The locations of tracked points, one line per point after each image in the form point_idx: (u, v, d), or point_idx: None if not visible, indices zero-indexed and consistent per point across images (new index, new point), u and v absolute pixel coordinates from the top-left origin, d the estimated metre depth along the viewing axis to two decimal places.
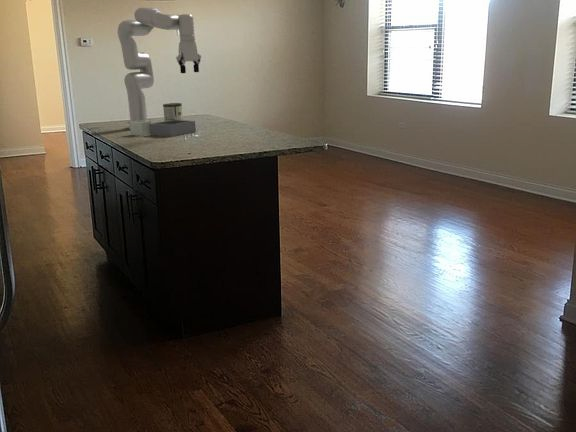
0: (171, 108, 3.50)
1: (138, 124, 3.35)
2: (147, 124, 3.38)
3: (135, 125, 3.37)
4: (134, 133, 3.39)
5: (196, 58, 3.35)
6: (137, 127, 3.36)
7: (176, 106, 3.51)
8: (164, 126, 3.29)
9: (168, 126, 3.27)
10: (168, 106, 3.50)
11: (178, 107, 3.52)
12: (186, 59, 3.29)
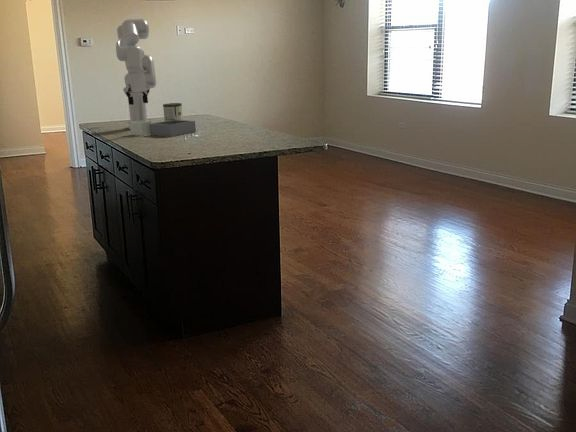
0: (171, 108, 3.50)
1: (138, 124, 3.35)
2: (147, 124, 3.38)
3: (135, 125, 3.37)
4: (134, 133, 3.39)
5: (144, 89, 3.36)
6: (137, 127, 3.36)
7: (176, 106, 3.51)
8: (164, 126, 3.29)
9: (168, 126, 3.27)
10: (168, 106, 3.50)
11: (178, 107, 3.52)
12: (134, 90, 3.30)
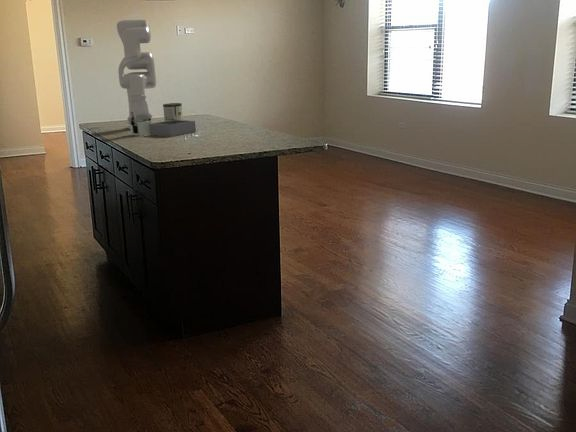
0: (171, 108, 3.50)
1: (138, 124, 3.35)
2: (147, 124, 3.38)
3: None
4: (134, 133, 3.39)
5: (147, 116, 3.40)
6: (137, 127, 3.36)
7: (176, 106, 3.51)
8: (164, 126, 3.29)
9: (168, 126, 3.27)
10: (168, 106, 3.50)
11: (178, 107, 3.52)
12: (136, 118, 3.35)
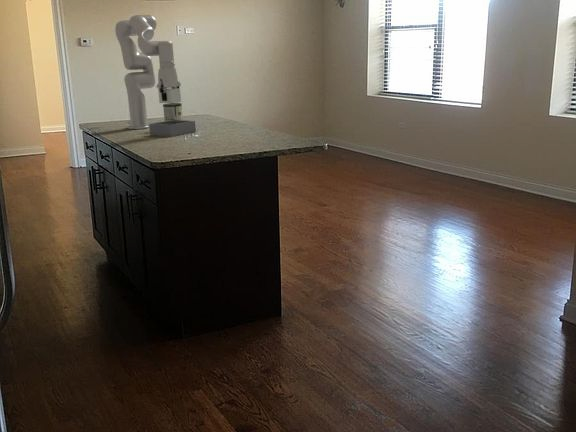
0: (171, 108, 3.50)
1: (167, 91, 3.29)
2: (176, 91, 3.31)
3: None
4: (163, 101, 3.33)
5: (176, 84, 3.34)
6: (166, 94, 3.30)
7: (176, 106, 3.51)
8: (164, 126, 3.29)
9: (168, 126, 3.27)
10: (168, 106, 3.50)
11: (178, 107, 3.52)
12: (166, 86, 3.28)
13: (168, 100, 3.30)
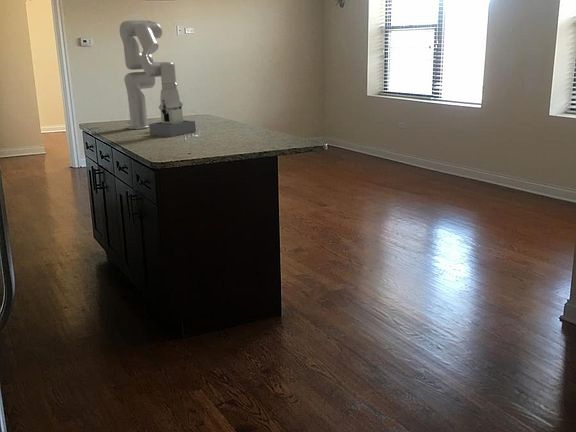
0: (171, 108, 3.50)
1: (169, 112, 3.32)
2: (178, 112, 3.34)
3: None
4: (165, 121, 3.35)
5: (178, 105, 3.36)
6: None
7: None
8: (164, 126, 3.29)
9: (168, 126, 3.27)
10: None
11: None
12: (168, 106, 3.31)
13: (170, 121, 3.33)
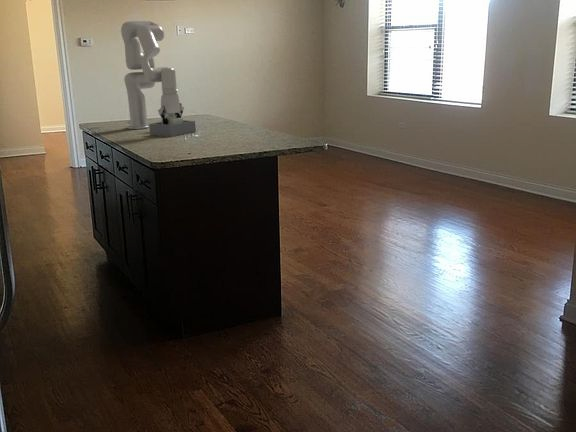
0: None
1: (170, 121, 3.33)
2: (179, 121, 3.35)
3: None
4: None
5: (178, 110, 3.37)
6: (169, 124, 3.34)
7: None
8: (164, 126, 3.29)
9: (168, 126, 3.27)
10: None
11: None
12: (168, 112, 3.32)
13: None
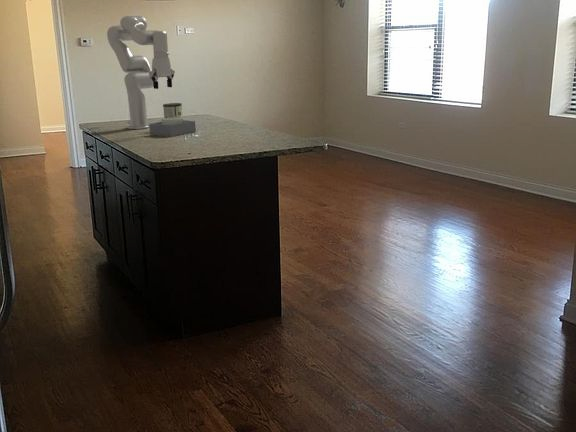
0: (171, 108, 3.50)
1: (170, 121, 3.33)
2: (179, 121, 3.35)
3: (167, 122, 3.35)
4: None
5: (169, 74, 3.41)
6: (169, 124, 3.34)
7: (176, 106, 3.51)
8: (164, 126, 3.29)
9: (168, 126, 3.27)
10: (168, 106, 3.50)
11: (178, 107, 3.52)
12: (159, 75, 3.36)
13: None
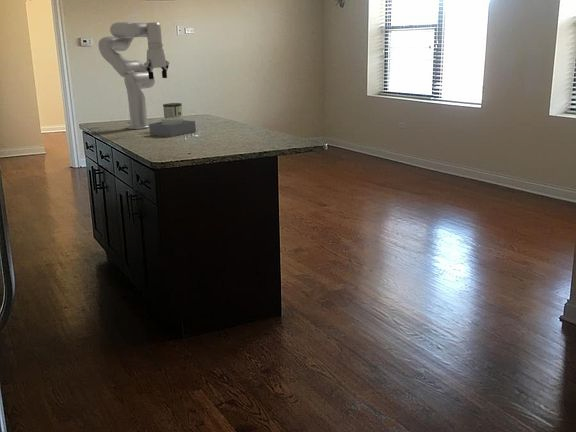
0: (171, 108, 3.50)
1: (170, 121, 3.33)
2: (179, 121, 3.35)
3: (167, 122, 3.35)
4: None
5: (164, 64, 3.47)
6: (169, 124, 3.34)
7: (176, 106, 3.51)
8: (164, 126, 3.29)
9: (168, 126, 3.27)
10: (168, 106, 3.50)
11: (178, 107, 3.52)
12: (154, 65, 3.42)
13: None
